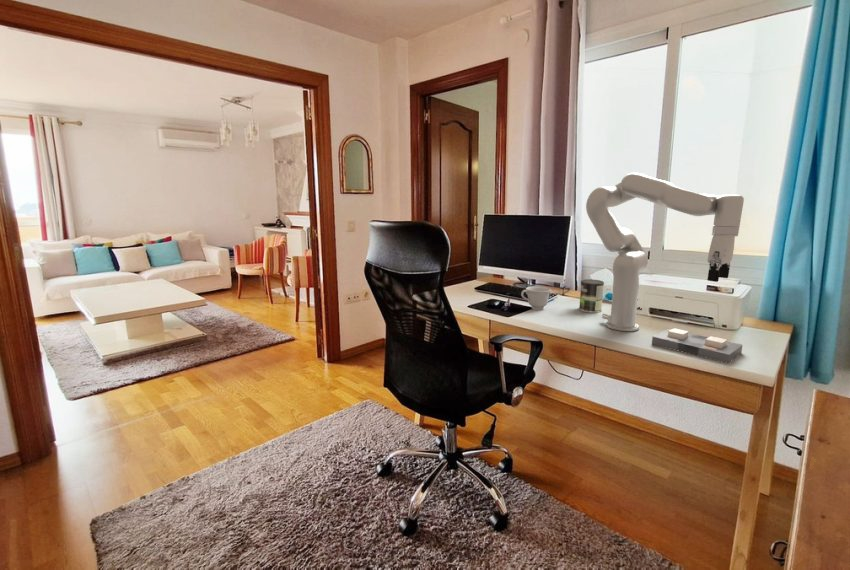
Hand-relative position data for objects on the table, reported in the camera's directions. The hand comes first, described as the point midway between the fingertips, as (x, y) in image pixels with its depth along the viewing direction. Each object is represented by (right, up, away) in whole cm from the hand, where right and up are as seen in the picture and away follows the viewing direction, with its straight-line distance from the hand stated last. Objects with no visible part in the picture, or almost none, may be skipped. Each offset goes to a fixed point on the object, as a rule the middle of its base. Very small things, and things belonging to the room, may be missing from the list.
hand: (717, 279), depth 150 cm
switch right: (-4, -24, -4) cm, 24 cm away
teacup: (-51, -14, +57) cm, 77 cm away
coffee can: (-25, -14, +53) cm, 60 cm away
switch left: (-11, -22, +5) cm, 25 cm away
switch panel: (-7, -25, +1) cm, 26 cm away
